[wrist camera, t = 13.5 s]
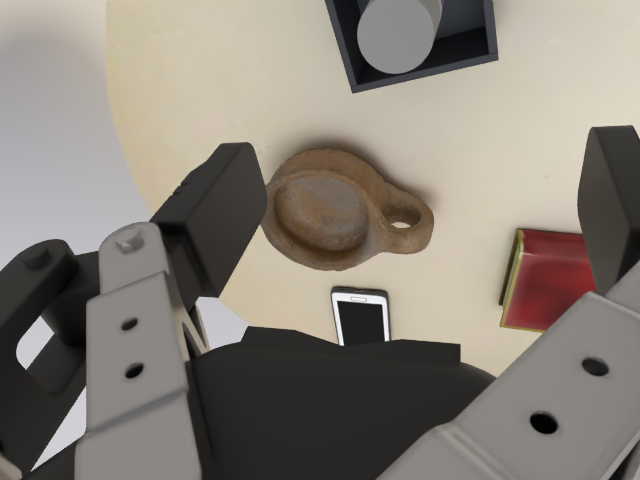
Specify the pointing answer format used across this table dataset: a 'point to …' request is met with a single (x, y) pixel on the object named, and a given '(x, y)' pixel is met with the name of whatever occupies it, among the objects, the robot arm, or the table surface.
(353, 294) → the cell phone
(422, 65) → the bin
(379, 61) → the container
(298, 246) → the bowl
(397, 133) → the table surface
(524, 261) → the hardcover book
